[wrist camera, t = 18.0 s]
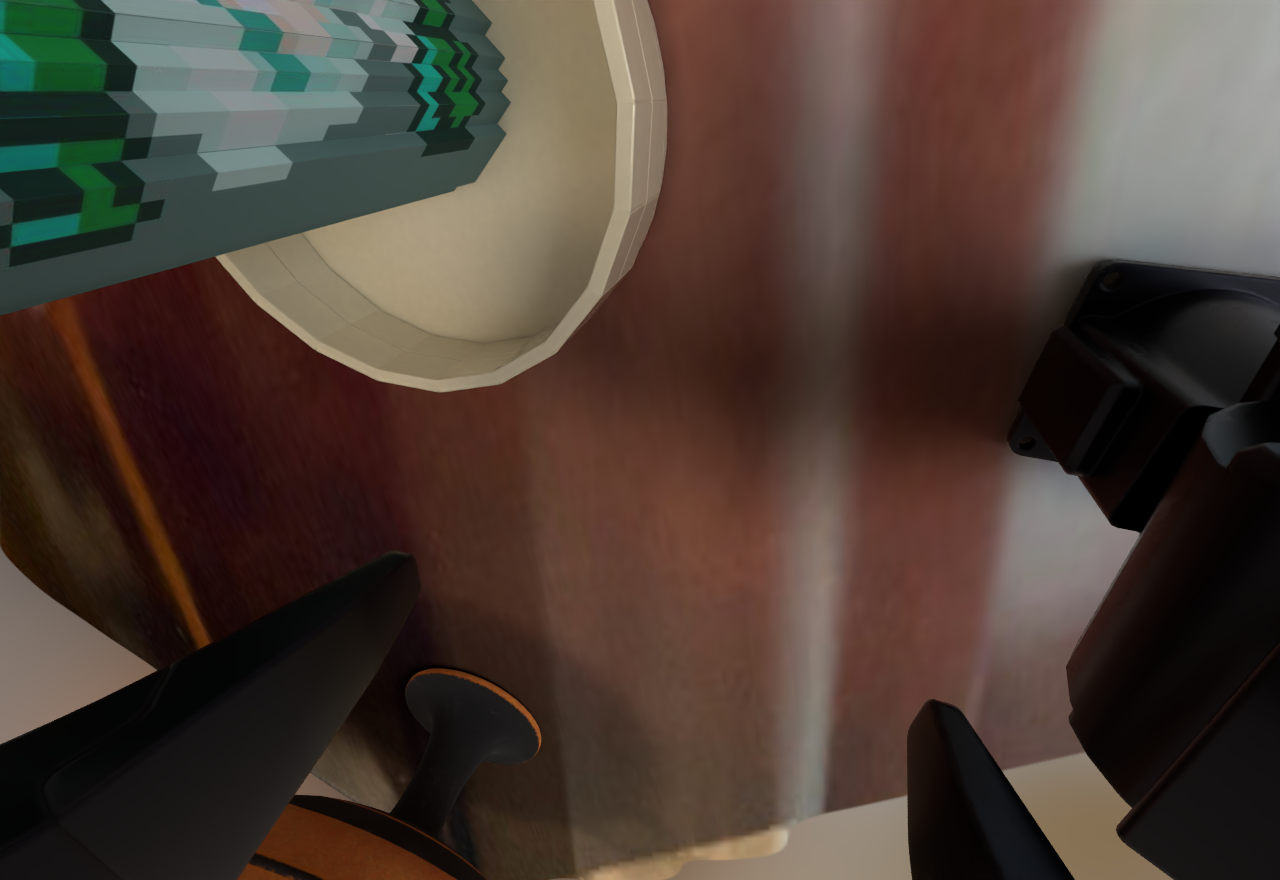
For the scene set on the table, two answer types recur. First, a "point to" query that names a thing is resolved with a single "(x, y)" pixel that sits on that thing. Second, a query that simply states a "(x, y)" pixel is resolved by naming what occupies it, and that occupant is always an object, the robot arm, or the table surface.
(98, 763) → the robot arm
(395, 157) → the can
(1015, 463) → the table surface
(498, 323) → the pan
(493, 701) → the footed terracotta bowl
